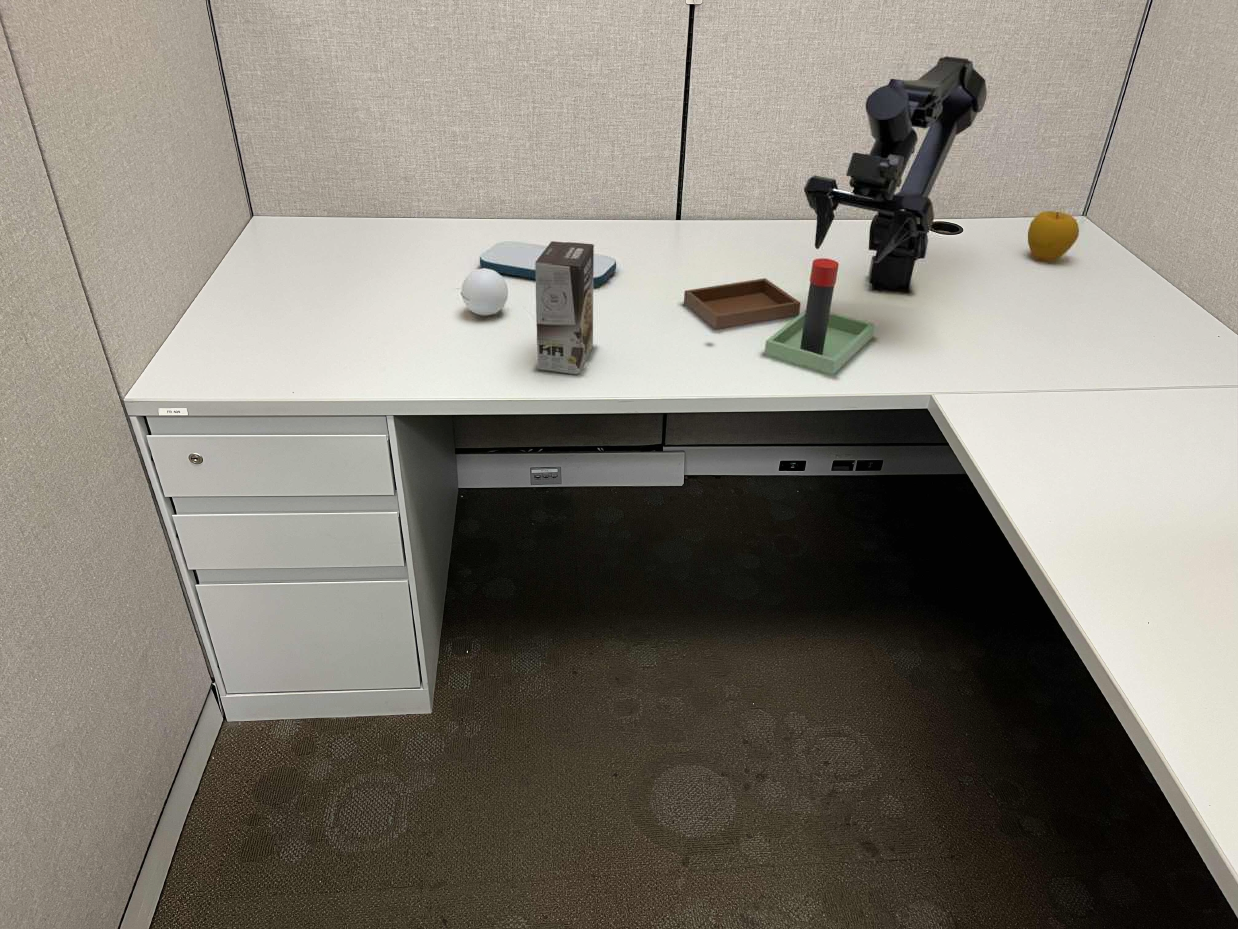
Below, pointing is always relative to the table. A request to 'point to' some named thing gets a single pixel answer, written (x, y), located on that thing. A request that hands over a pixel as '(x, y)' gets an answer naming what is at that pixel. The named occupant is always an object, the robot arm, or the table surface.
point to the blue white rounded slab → (523, 257)
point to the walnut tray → (741, 303)
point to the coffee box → (564, 306)
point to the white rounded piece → (484, 292)
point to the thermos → (819, 304)
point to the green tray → (838, 348)
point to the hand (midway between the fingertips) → (845, 254)
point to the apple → (1052, 235)
